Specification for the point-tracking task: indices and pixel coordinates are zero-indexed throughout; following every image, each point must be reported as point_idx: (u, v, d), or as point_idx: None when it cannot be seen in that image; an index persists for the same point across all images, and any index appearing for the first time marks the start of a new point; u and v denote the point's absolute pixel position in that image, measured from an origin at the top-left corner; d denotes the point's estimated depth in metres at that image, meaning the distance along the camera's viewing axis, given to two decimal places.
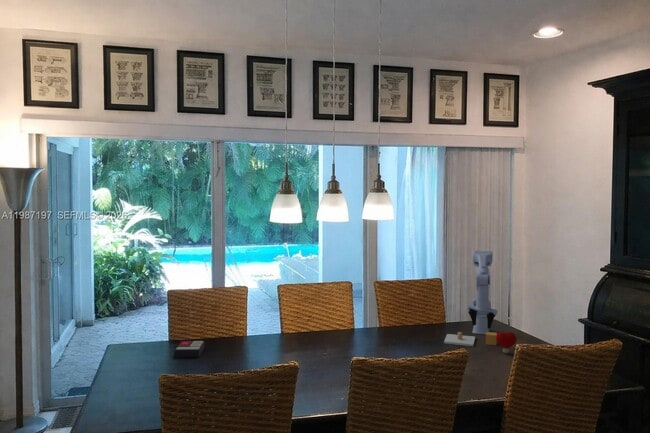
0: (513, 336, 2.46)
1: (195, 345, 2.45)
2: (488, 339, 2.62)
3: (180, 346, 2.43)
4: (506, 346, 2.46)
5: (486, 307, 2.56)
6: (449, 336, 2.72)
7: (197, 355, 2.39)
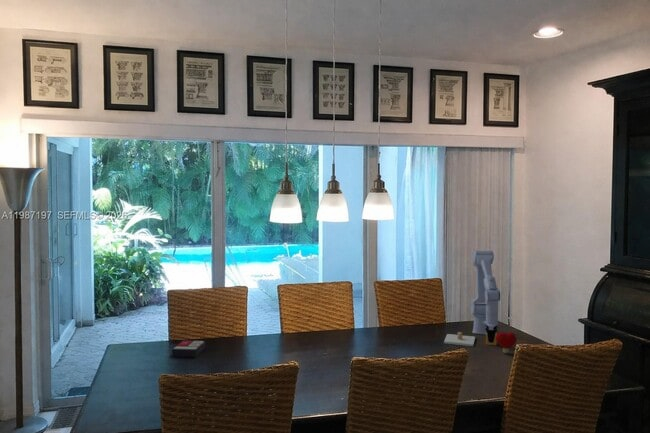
0: (513, 336, 2.46)
1: (193, 345, 2.45)
2: None
3: (179, 345, 2.44)
4: (506, 346, 2.46)
5: (489, 321, 2.61)
6: (449, 336, 2.72)
7: (194, 355, 2.39)
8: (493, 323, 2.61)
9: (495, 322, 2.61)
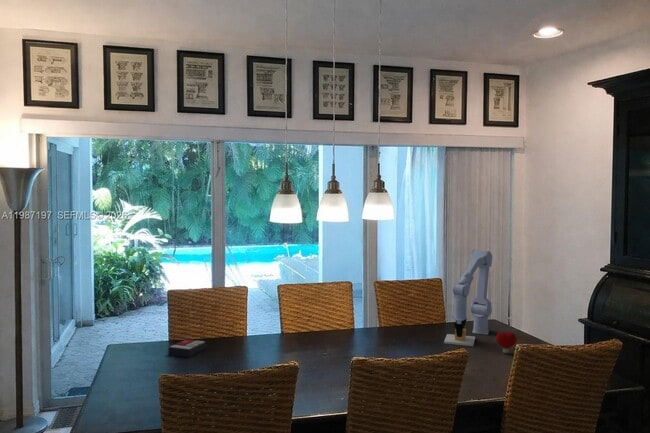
0: (513, 336, 2.46)
1: (191, 345, 2.45)
2: None
3: (177, 344, 2.46)
4: (506, 346, 2.46)
5: (458, 316, 2.65)
6: (449, 336, 2.72)
7: (187, 355, 2.39)
8: (461, 317, 2.65)
9: (463, 316, 2.65)
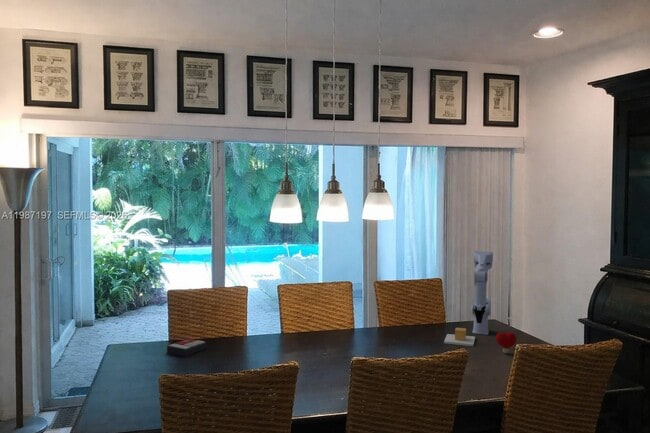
0: (513, 336, 2.46)
1: (189, 344, 2.46)
2: (457, 334, 2.66)
3: (176, 343, 2.48)
4: (506, 346, 2.46)
5: (477, 302, 2.68)
6: (449, 336, 2.72)
7: (183, 354, 2.40)
8: (481, 304, 2.67)
9: (483, 303, 2.67)
